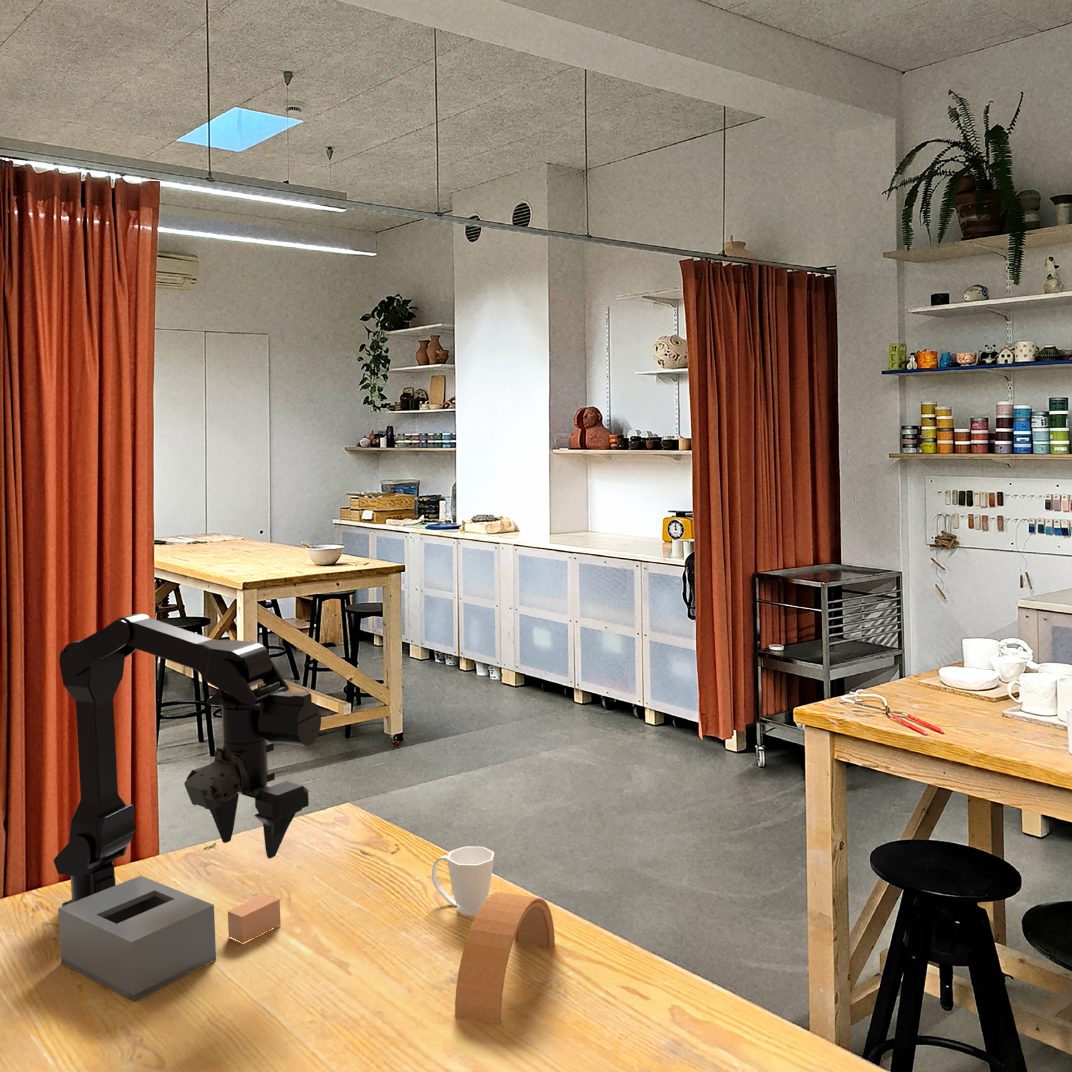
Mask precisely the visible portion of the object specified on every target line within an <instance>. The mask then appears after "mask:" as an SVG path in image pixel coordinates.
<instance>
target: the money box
mask: <svg viewBox="0 0 1072 1072" xmlns="http://www.w3.org/2000/svg"><path fill="white" fill-rule="evenodd" d="M57 911H58V928H59V929H58V930H59V931H58V932H59V944H60V945H59V946H60V963H61V964H62V965H64V966H66V967H67V968H68V969H69V968H70V970H72V971H75V972H77V973H78V974H81V975H82V976H84V977H86V978H88V979H90V980H91V981H94V982H96V983H97V984H100V985H101V986H103V987H105V988H107V989H110V990H111V991H113V992H115V993H117V994H119V995H121V996H122V997H124V998H126V999H128V1000H129V1001H133V1002H136V1001H138V1000H140V999H142V998H143V997H146V996H148V995H150V994H152V993H153V992H156V991H159V990H160V989H162V988H163V987H165V986H168V985H170V984H171V983H174V982H175V981H178V980H179V979H180V980H181V979H182V978H184V977H185V975H186V976H187V974H188V975H189V973H190V972H192V971H194V970H196V969H197V970H199V969H201V968H203V967H205V966H207V965H209V964H211V963H212V962H211V961H213V962H215V961H217V949H216V947H217V944H216V925H215V924H216V921H215V905H214V904H212V903H210V902H208V901H205V900H203V899H200V898H198V897H195V896H193V895H190V894H188V893H185V892H183V891H180V890H177V889H175V888H173V887H170V886H168V885H165V884H163V883H160V882H158V881H156V880H152V878H151V879H150V878H147V877H146V876H142V875H139V876H136V877H133V878H130V879H128V880H126V881H123V882H121V883H118V884H116V885H115V886H113V887H110V888H108V889H105V890H103V891H100V892H98V893H95V894H93V895H90V896H88V897H85V898H83V899H80V900H78V901H75V902H73V903H70V904H67V905H65V906H62V905H61V906H60V907H58V909H57ZM214 960H215V961H214ZM210 962H211V963H210ZM208 963H209V964H208ZM206 964H207V965H206ZM202 966H203V967H202ZM200 967H201V968H200ZM198 968H199V969H198ZM197 970H196V971H197ZM194 972H195V971H194ZM192 973H193V972H192ZM190 974H191V973H190ZM181 977H182V978H181Z"/></svg>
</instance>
